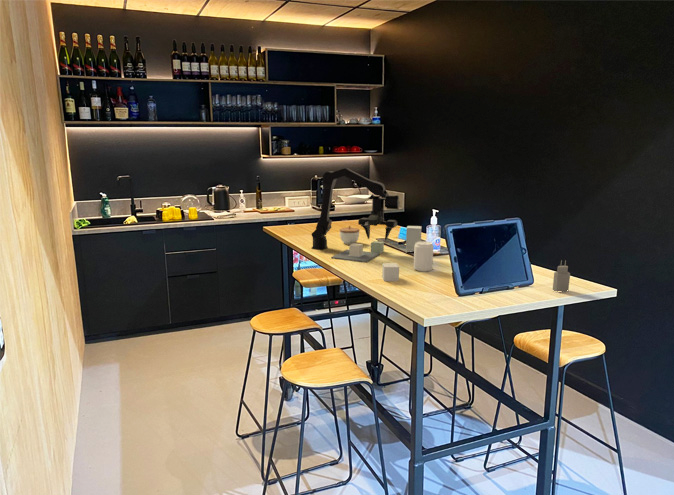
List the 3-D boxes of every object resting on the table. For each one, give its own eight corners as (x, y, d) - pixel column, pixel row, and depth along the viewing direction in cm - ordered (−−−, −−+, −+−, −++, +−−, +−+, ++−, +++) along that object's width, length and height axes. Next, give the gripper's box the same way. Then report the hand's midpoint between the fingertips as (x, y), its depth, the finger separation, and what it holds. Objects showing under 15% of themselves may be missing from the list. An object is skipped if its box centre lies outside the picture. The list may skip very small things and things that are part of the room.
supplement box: (420, 253, 250) (421, 228, 247) (405, 252, 251) (406, 227, 249) (420, 250, 257) (421, 225, 254) (406, 249, 258) (407, 225, 256)
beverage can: (420, 273, 215) (422, 245, 212) (409, 268, 222) (410, 242, 219) (436, 270, 219) (437, 243, 216) (424, 266, 226) (425, 240, 223)
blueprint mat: (331, 258, 240) (331, 256, 240) (346, 250, 256) (346, 249, 255) (366, 262, 232) (366, 260, 232) (380, 254, 248) (380, 252, 248)
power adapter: (569, 291, 190) (572, 260, 188) (557, 292, 189) (560, 261, 186) (563, 289, 193) (566, 258, 191) (551, 290, 192) (554, 259, 189)
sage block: (370, 252, 252) (370, 242, 251) (374, 250, 256) (374, 241, 255) (380, 253, 250) (380, 243, 249) (383, 251, 254) (383, 242, 253)
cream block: (349, 255, 243) (349, 245, 242) (353, 253, 247) (353, 243, 246) (358, 256, 241) (358, 246, 239) (362, 254, 245) (362, 244, 244)
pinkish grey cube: (398, 281, 203) (399, 266, 202) (383, 281, 203) (384, 267, 201) (396, 277, 209) (396, 263, 208) (382, 277, 209) (382, 263, 207)
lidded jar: (353, 240, 280) (353, 223, 278) (362, 244, 271) (363, 227, 269) (336, 242, 276) (336, 225, 273) (344, 246, 266) (345, 228, 264)
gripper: (354, 209, 245) (353, 240, 248) (390, 212, 237) (389, 244, 241) (362, 206, 255) (362, 236, 258) (398, 209, 247) (397, 240, 250)
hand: (377, 239), depth 252 cm, fingers open, 9 cm apart
